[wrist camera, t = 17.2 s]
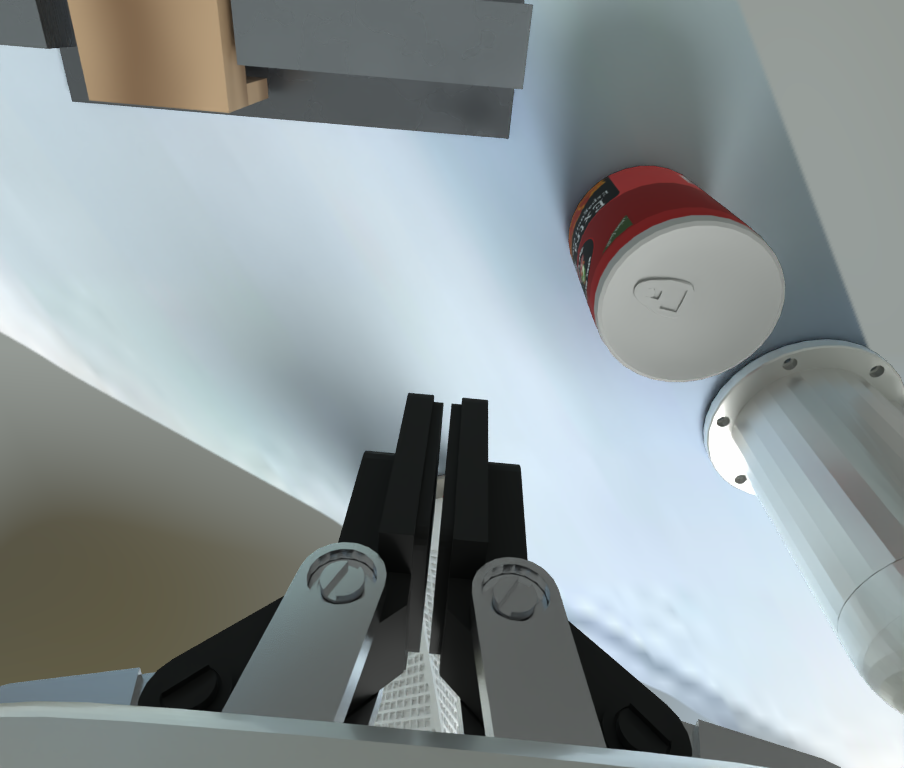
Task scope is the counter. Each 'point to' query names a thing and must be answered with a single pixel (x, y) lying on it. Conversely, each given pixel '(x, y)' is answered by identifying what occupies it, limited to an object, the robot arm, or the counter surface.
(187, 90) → the tan slotted wooden block
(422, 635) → the skyscraper
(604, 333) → the canned food
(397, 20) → the notched rail
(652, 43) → the counter surface
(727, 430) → the robot arm
